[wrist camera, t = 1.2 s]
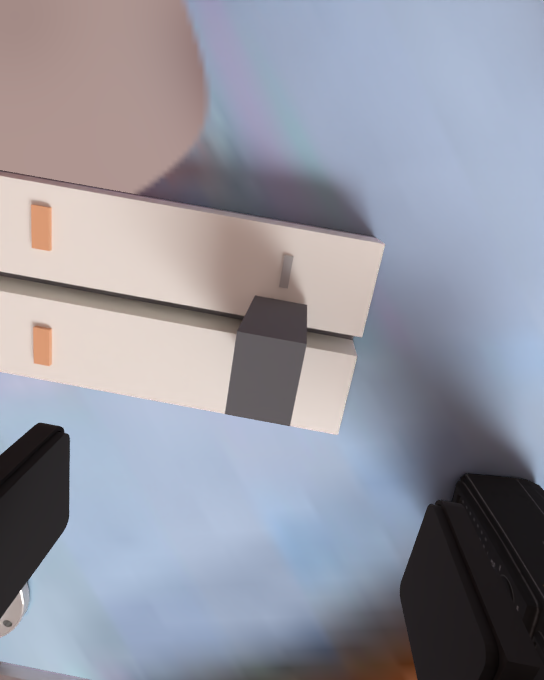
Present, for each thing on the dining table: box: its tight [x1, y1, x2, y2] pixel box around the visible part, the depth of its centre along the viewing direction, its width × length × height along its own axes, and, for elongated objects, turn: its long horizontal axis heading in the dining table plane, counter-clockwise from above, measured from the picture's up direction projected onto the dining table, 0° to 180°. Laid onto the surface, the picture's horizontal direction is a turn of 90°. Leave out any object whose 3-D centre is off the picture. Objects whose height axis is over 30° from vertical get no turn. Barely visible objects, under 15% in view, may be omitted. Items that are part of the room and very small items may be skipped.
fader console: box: [0, 170, 385, 435], centre depth 28 cm, size 12×26×4 cm, turn 81°
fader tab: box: [225, 295, 307, 426], centre depth 24 cm, size 4×3×10 cm
